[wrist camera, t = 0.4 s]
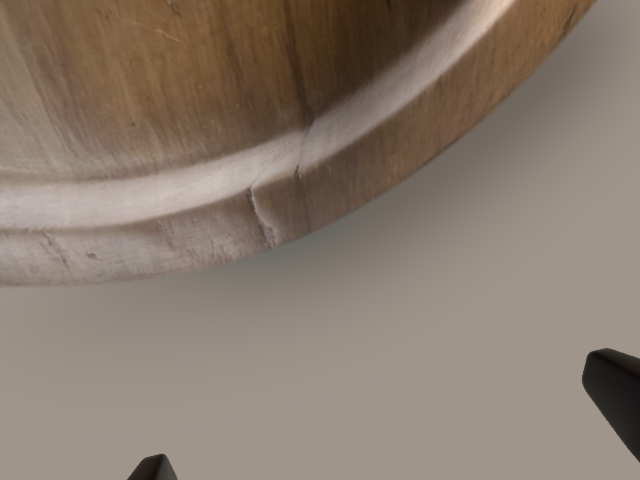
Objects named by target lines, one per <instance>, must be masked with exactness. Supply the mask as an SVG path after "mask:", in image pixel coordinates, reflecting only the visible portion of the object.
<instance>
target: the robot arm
mask: <svg viewBox="0 0 640 480" xmlns="http://www.w3.org/2000/svg"><path fill="white" fill-rule="evenodd" d="M582 383H583V386H584V388H585V390H586V392H587V393H588V395H589V396H590V398H591V399H592V400H593V402H594V403H595V404H596V406H597V407H598V409H599V410H600V411H601V413H602V414H603V415H604V417H605V418H606V420H607V421H608V422H609V424H610V425H611V426H612V428H613V429H614V431H615V432H616V433H617V435H618V436H619V437H620V438H621V440H622V441H623V442H624V444H625V445H626V446H627V448H628V449H629V450H630V452H631V453H632V454H633V455H634V456H635V457H636V459H637V460H638V461H639V462H640V359H639V358H636V357H633V356H630V355H627V354H624V353H621V352H618V351H616V350H613V349H608V348H605V349H600V350H596V351H592V352H590V353H589V354H588V356H587V359H586V363H585V367H584V371H583V375H582ZM127 480H177V477H176V474H175V472H174V470H173V468H172V466H171V464H170V462H169V460H168V458H167V456H166V455H165V454H158V455H154V456H150V457H146V458H144V459H143V460H142V461H141V462H140V464H139V465H138V466H137V467H136V469H135V470H134V471H133V473H132V474H131V475H130V477H129V478H128V479H127Z"/></svg>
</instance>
